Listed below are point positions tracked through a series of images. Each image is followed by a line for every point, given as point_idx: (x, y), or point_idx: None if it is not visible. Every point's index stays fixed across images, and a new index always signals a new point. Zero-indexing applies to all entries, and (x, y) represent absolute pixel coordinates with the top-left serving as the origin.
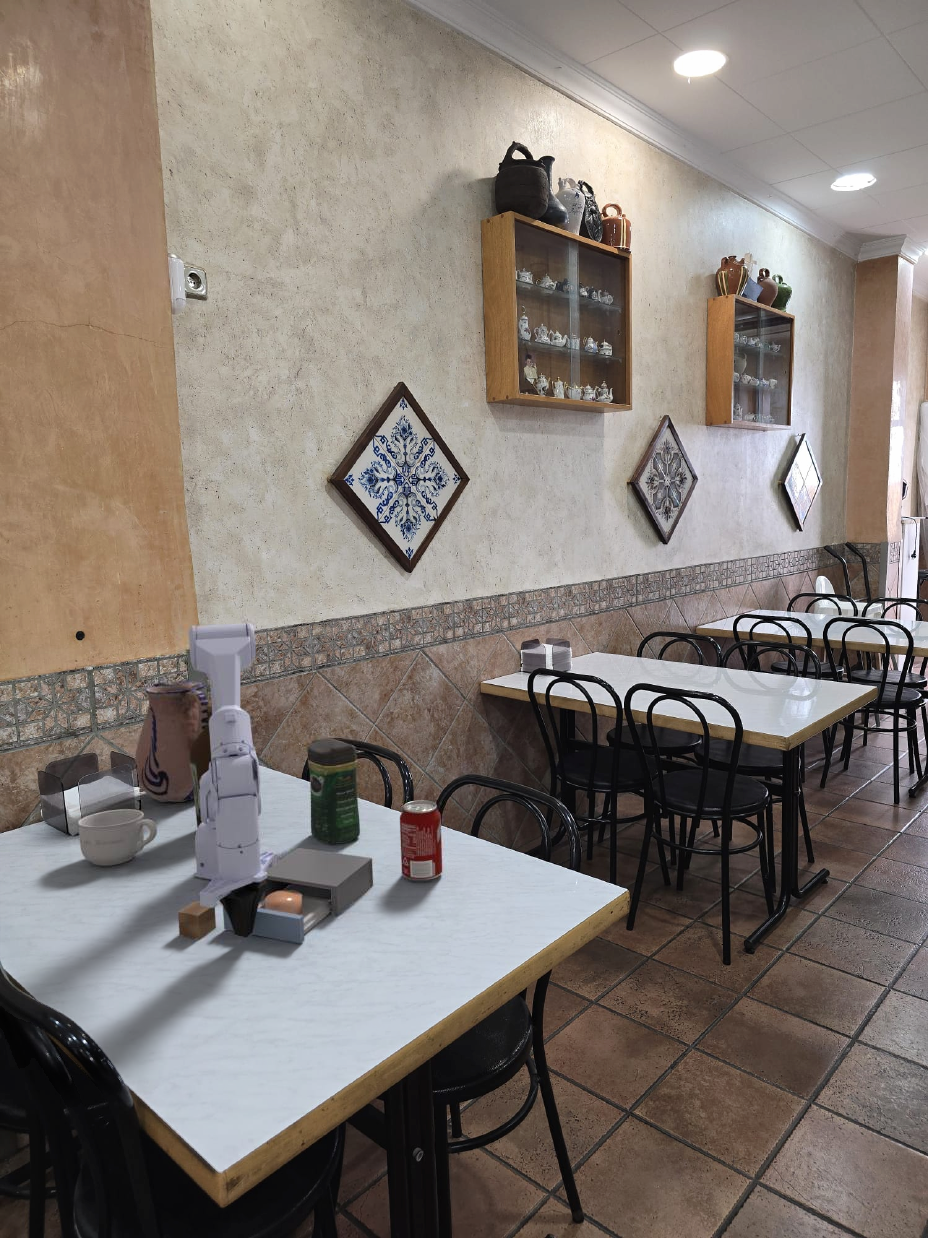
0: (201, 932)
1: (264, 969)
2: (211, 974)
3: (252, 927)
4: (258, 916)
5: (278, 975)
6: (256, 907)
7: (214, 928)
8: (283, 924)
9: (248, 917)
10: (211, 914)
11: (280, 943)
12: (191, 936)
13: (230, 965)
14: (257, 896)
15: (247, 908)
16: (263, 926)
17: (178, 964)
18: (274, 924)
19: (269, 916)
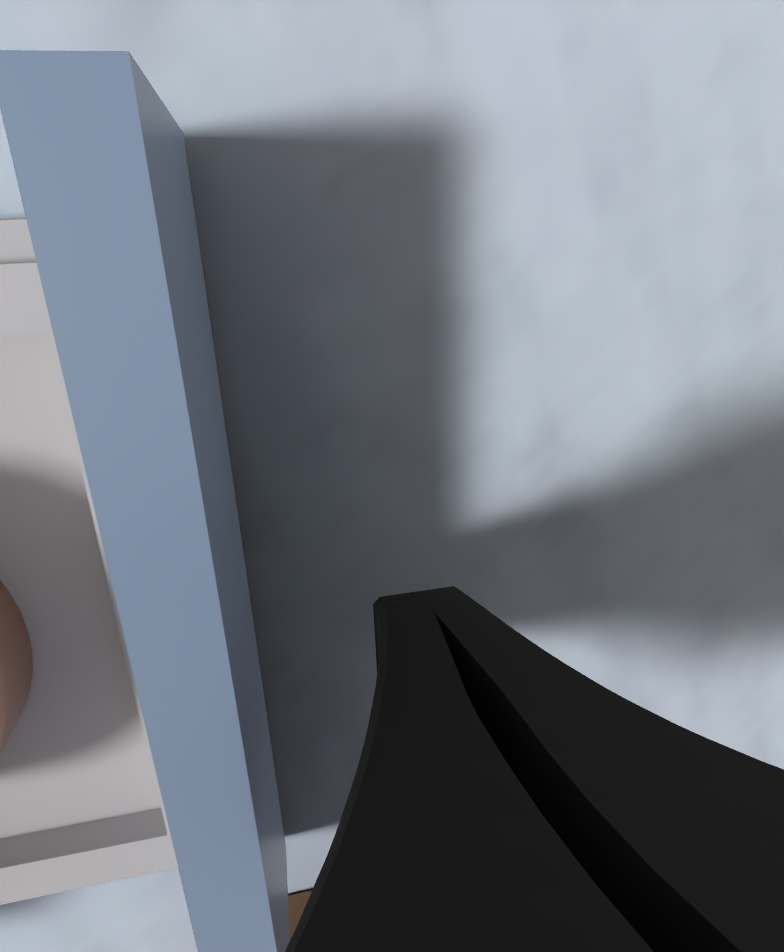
0: None
1: (651, 203)
2: (769, 515)
3: (410, 616)
4: (244, 703)
5: (710, 6)
6: (412, 750)
7: (295, 896)
8: (197, 369)
9: (557, 681)
10: None
11: (249, 358)
12: None
13: (654, 486)
14: (544, 893)
15: (706, 762)
16: (238, 596)
17: None
18: (218, 489)
19: (220, 588)
